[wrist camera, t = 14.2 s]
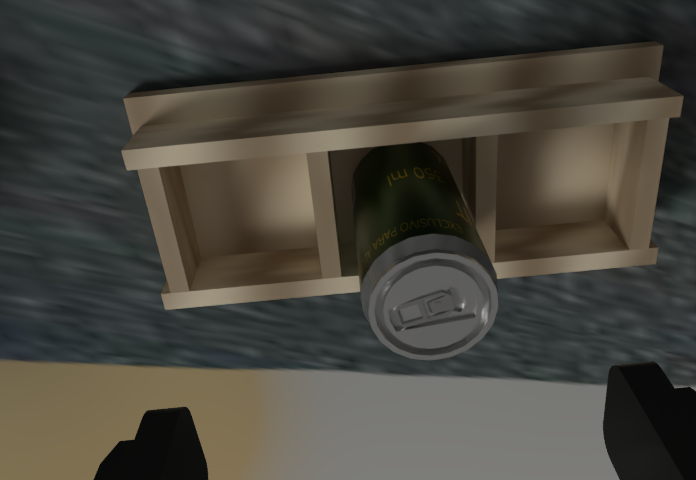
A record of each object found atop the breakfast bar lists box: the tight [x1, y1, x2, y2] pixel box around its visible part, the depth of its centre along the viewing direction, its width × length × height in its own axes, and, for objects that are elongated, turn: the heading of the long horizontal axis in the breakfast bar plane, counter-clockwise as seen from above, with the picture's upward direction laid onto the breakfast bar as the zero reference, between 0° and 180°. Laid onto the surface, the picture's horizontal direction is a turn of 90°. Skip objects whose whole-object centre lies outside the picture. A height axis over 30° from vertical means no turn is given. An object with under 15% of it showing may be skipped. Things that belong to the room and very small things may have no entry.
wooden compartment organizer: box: [121, 41, 684, 310], centre depth 33 cm, size 27×12×4 cm, turn 95°
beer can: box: [351, 142, 498, 360], centre depth 29 cm, size 5×5×12 cm
